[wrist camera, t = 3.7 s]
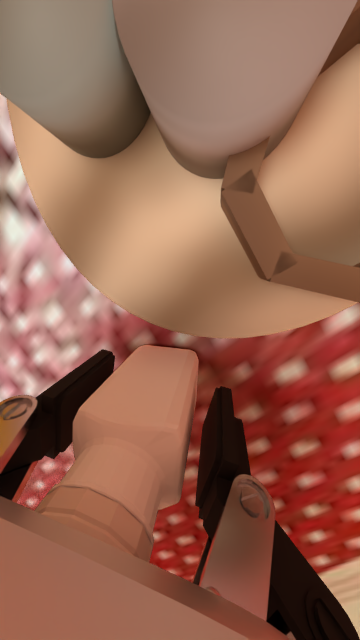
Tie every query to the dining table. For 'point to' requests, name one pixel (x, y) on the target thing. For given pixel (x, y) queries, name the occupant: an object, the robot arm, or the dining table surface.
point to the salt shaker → (129, 450)
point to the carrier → (195, 153)
